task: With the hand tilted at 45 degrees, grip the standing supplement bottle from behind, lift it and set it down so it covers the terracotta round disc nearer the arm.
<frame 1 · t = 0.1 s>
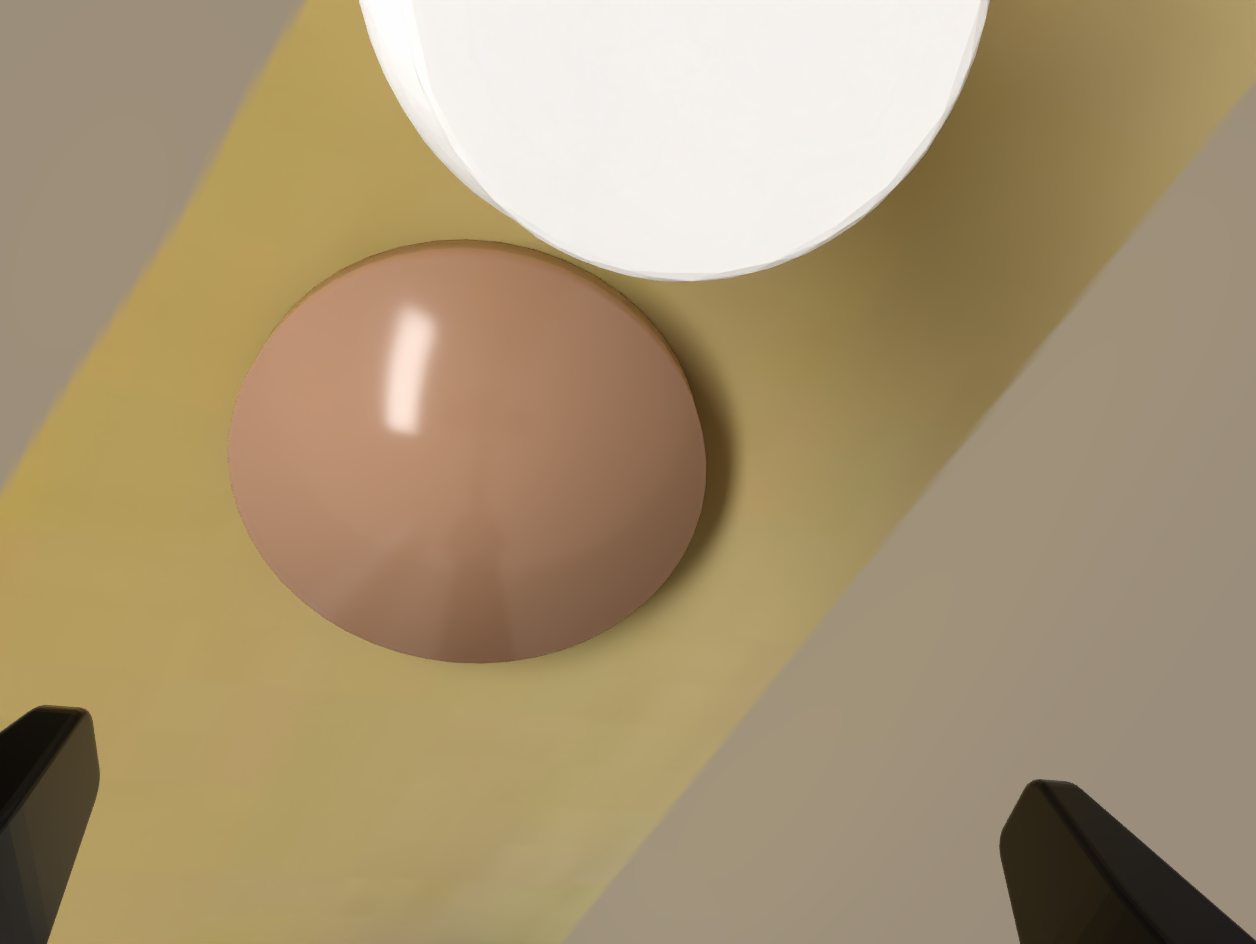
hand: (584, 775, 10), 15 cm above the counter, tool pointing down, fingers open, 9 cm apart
terracotta round disc: (476, 459, 24), on the counter
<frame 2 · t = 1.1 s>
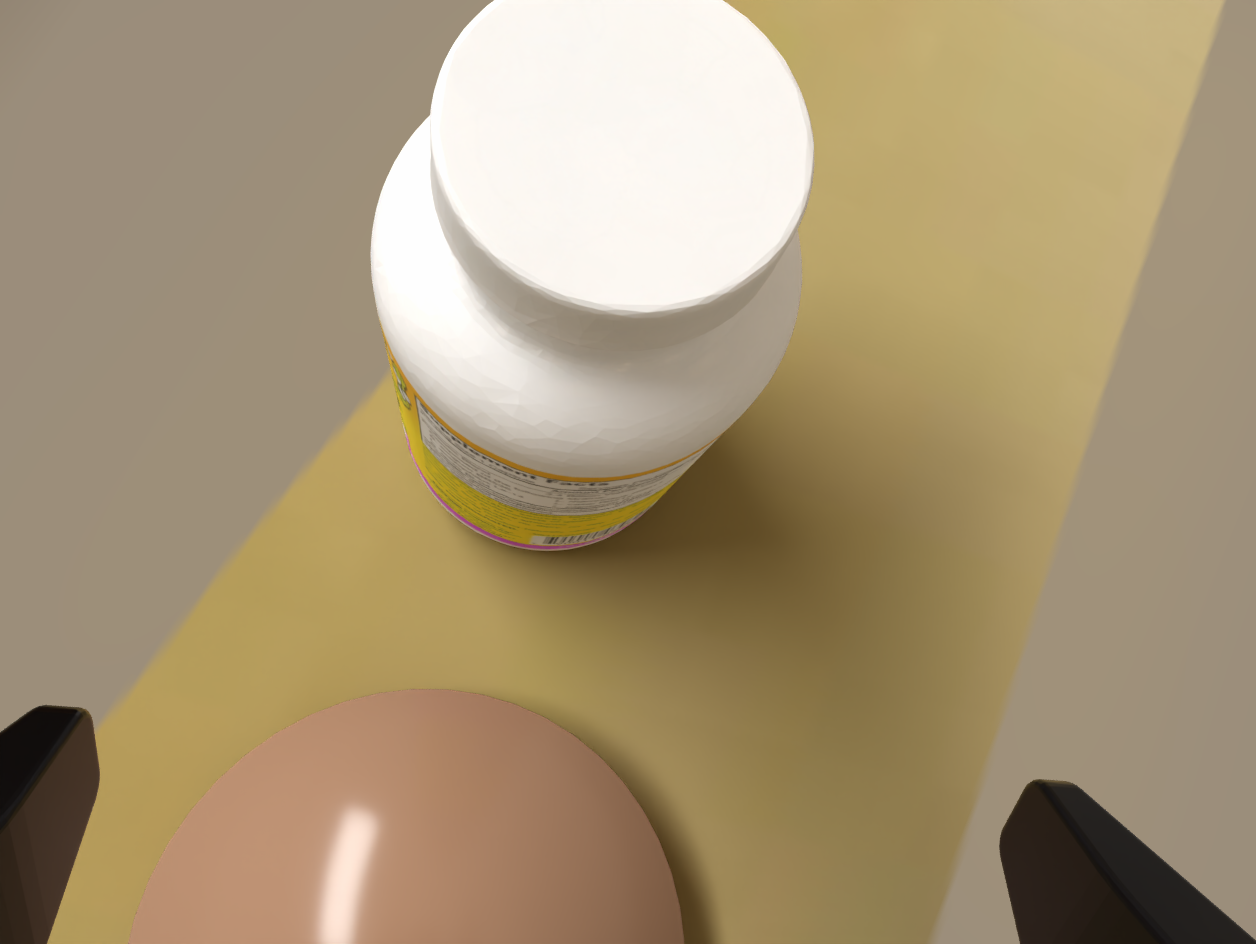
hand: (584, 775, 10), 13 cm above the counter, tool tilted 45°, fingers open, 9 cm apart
supplement bottle: (542, 423, 24), on the counter
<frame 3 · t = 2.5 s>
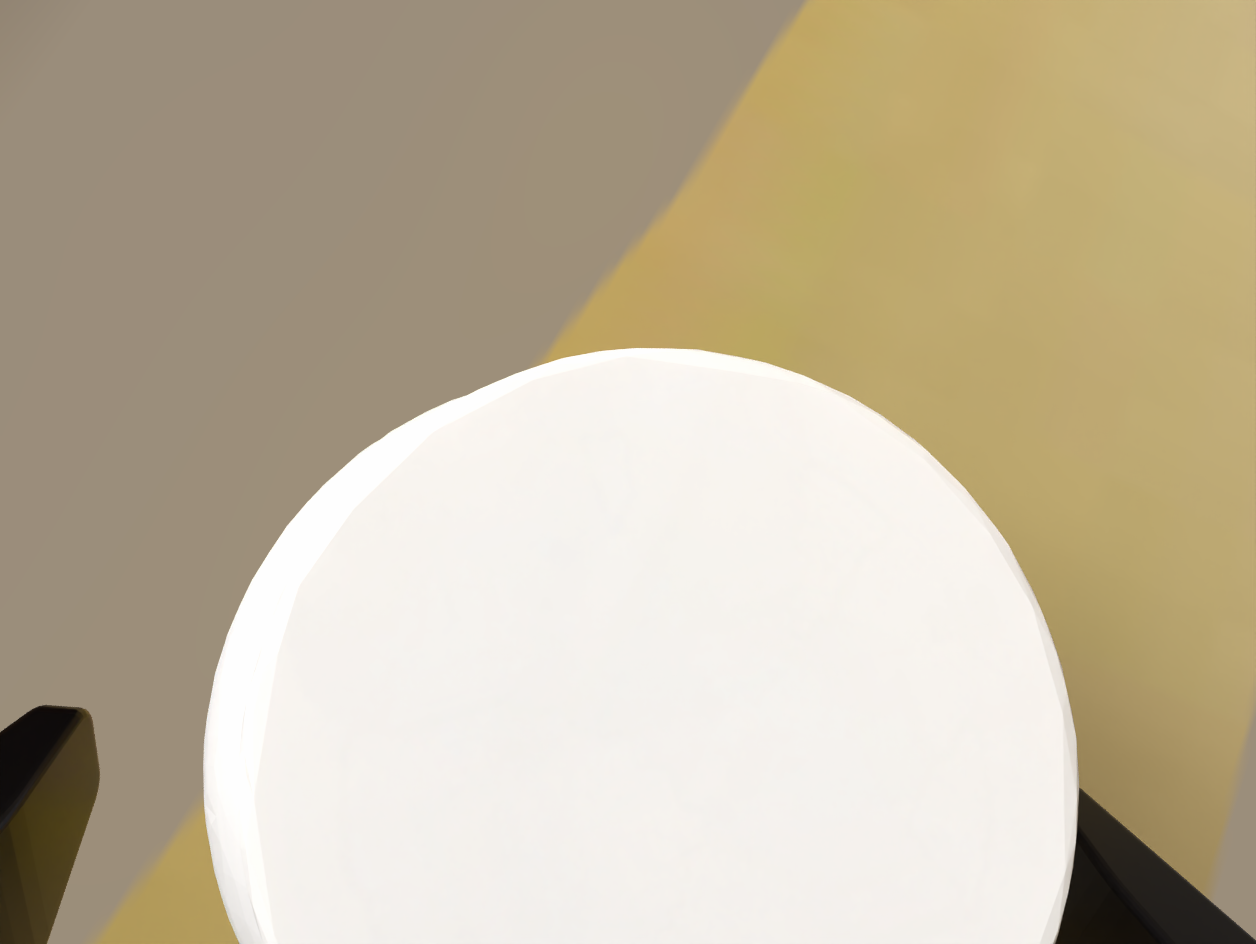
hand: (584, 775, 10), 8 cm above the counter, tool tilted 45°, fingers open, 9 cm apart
supplement bottle: (528, 722, 18), on the counter
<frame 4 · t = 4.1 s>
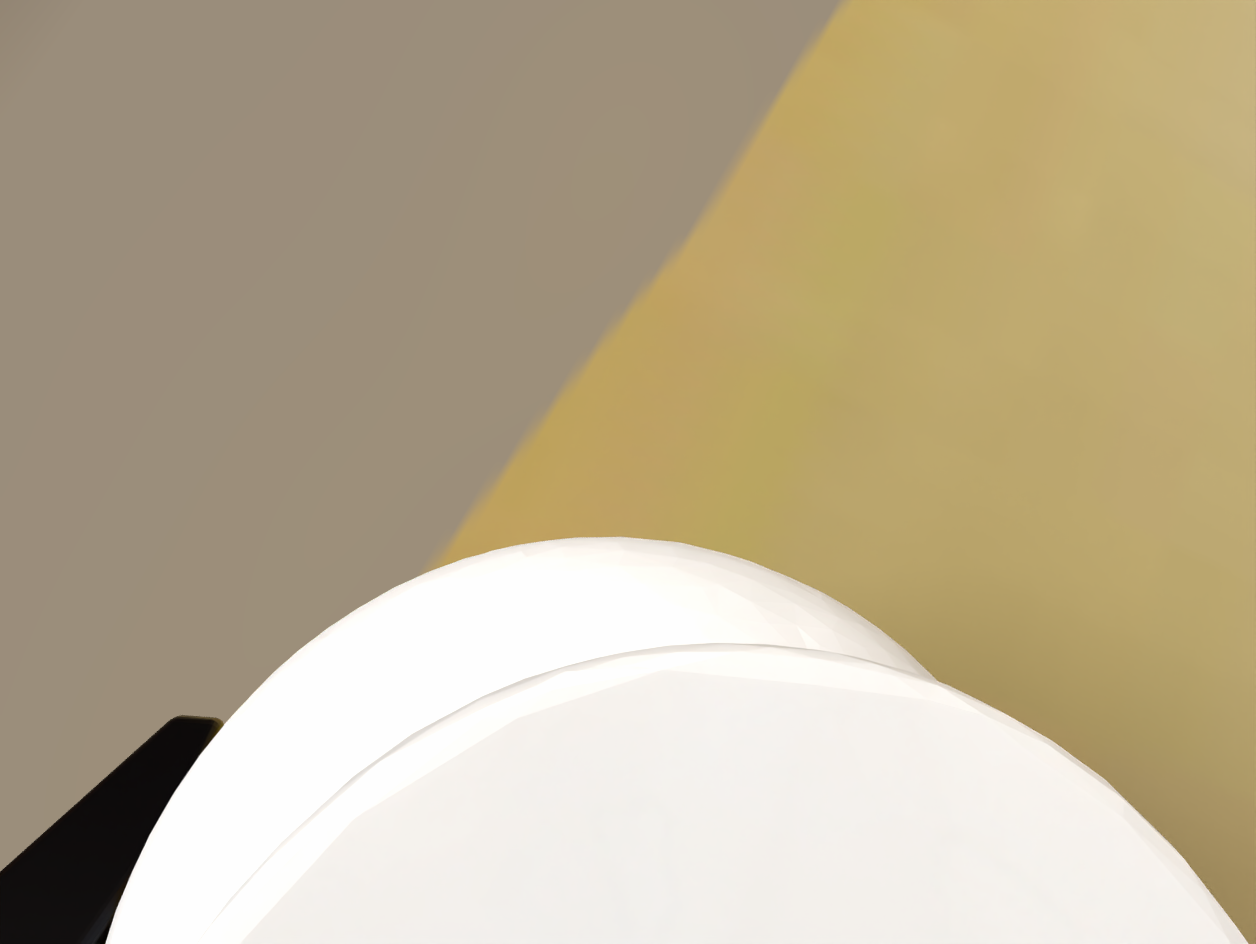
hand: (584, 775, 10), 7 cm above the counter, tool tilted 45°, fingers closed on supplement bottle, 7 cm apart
supplement bottle: (524, 838, 16), on the counter, touching gripper
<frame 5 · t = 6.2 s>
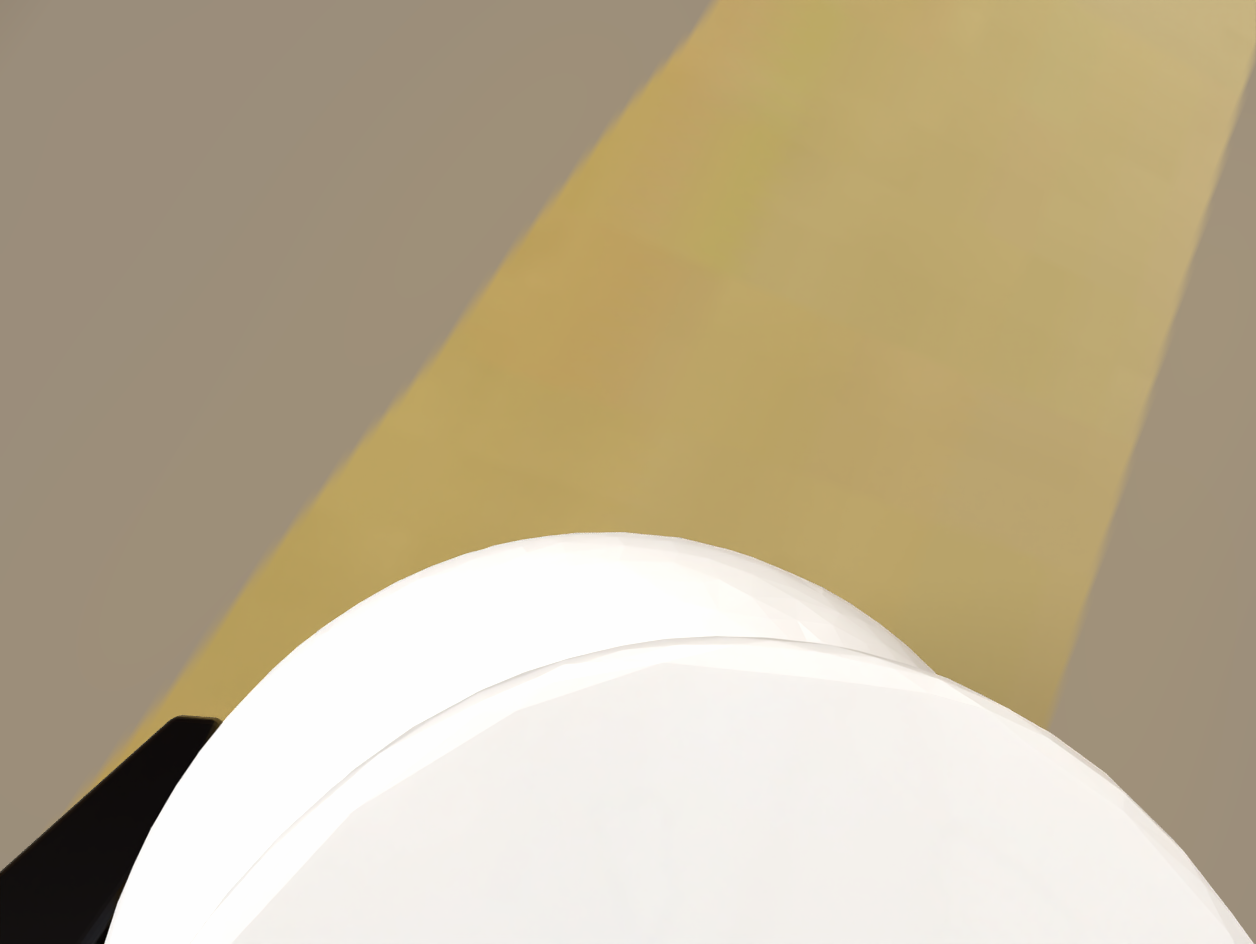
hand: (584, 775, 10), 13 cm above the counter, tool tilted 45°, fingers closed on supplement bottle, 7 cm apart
supplement bottle: (525, 835, 16), point 6 cm above the counter, touching gripper
when the fingers open (9 cm above the counter, at t = 8.4 s): supplement bottle drops 2 cm, resting on terracotta round disc.
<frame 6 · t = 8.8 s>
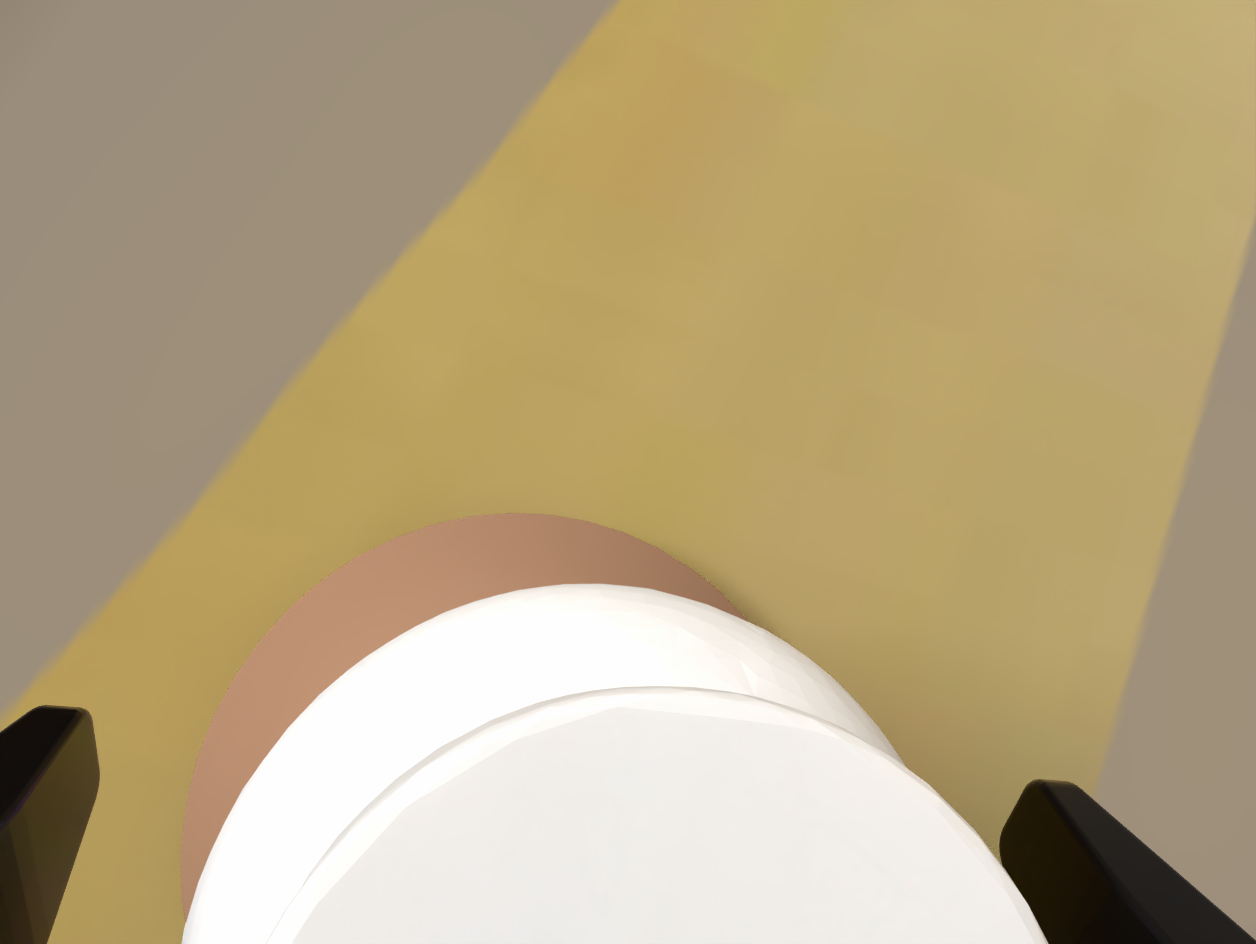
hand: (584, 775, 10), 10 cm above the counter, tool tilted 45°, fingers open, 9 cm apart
supplement bottle: (521, 834, 17), point 1 cm above the counter, touching terracotta round disc
terracotta round disc: (515, 819, 18), on the counter
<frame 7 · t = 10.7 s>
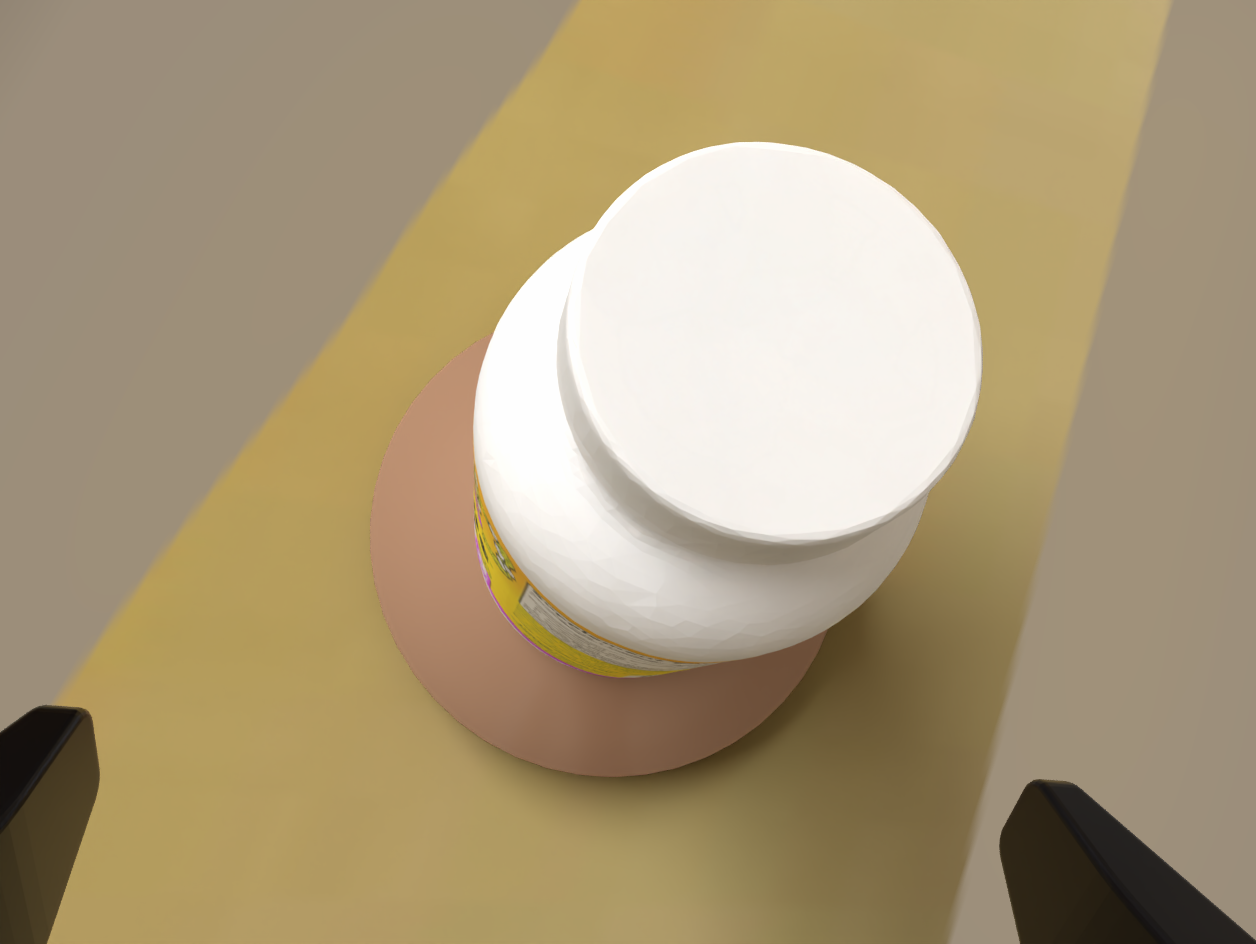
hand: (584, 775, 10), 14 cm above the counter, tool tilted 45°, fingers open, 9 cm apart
supplement bottle: (616, 535, 23), point 1 cm above the counter, touching terracotta round disc
terracotta round disc: (608, 537, 24), on the counter
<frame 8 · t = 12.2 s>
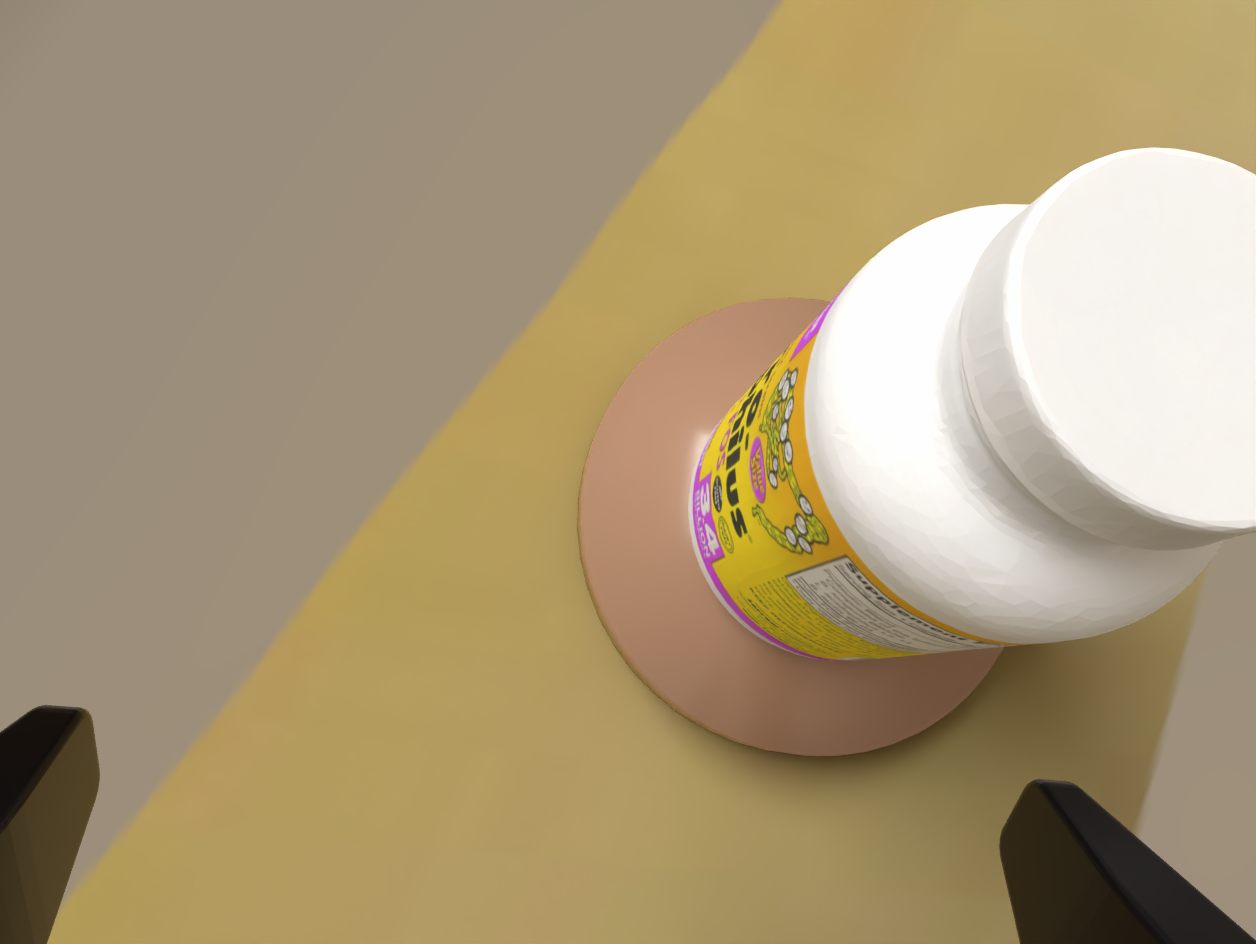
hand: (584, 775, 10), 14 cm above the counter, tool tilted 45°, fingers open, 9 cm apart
supplement bottle: (814, 522, 24), point 1 cm above the counter, touching terracotta round disc
terracotta round disc: (797, 524, 25), on the counter
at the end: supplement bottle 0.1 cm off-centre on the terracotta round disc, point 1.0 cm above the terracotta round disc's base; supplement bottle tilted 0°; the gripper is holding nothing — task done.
